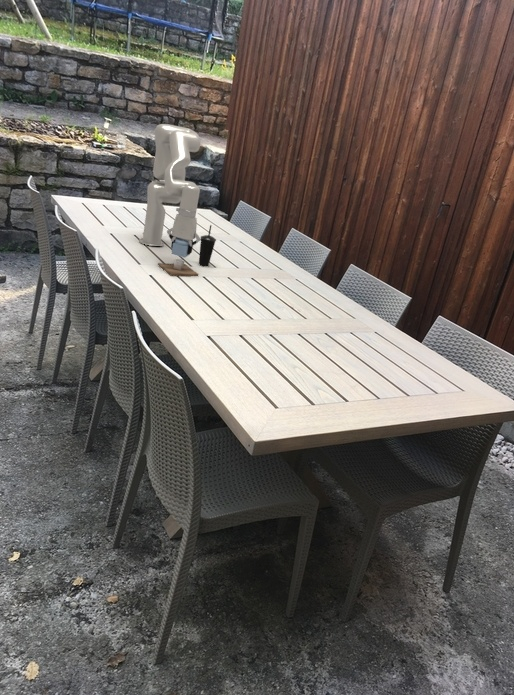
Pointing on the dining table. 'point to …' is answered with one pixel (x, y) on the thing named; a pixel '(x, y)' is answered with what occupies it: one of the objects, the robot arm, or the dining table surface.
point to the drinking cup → (206, 249)
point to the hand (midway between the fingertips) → (181, 251)
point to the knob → (180, 247)
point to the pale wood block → (178, 264)
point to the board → (174, 272)
